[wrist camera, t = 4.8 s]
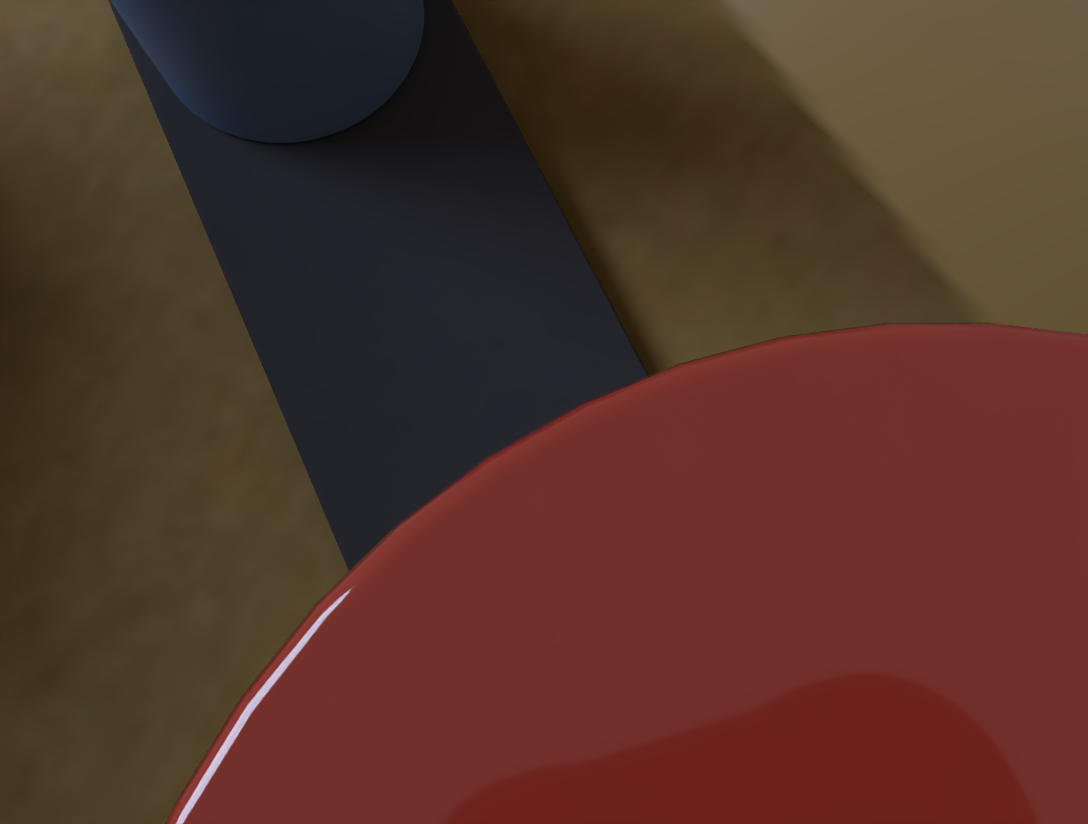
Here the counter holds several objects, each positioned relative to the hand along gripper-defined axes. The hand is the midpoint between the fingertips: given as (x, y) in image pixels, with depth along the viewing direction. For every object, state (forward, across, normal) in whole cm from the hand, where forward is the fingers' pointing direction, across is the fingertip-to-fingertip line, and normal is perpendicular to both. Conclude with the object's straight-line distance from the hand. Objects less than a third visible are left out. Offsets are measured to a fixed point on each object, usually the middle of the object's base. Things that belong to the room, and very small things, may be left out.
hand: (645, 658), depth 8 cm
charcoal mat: (+8, +1, +1) cm, 9 cm away
